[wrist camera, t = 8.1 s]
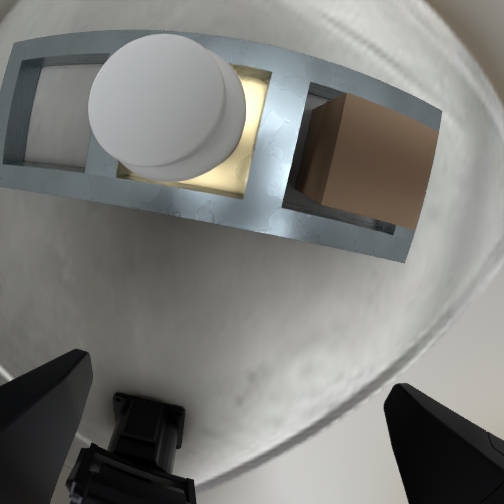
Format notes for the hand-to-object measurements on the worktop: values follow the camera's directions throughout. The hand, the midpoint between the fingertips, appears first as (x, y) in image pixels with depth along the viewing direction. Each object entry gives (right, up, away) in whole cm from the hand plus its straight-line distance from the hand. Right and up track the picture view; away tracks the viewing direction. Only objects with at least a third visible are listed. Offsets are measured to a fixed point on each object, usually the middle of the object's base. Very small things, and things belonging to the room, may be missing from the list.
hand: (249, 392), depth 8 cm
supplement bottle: (-3, +11, +9) cm, 14 cm away
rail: (-3, +11, +9) cm, 15 cm away
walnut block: (+6, +10, +10) cm, 15 cm away
